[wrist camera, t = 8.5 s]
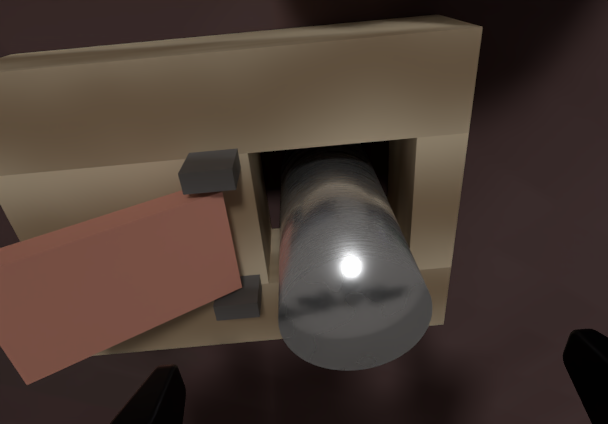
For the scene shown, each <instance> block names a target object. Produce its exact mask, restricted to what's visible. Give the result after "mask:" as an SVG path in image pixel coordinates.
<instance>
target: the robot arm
mask: <svg viewBox="0 0 608 424" xmlns="http://www.w3.org/2000/svg"><path fill="white" fill-rule="evenodd" d="M563 361H564V365H565V367H566V369H567V371H568V373H569V376H570V378H571V380H572V382H573V384H574V386H575V388H576V391H577V393H578V395H579V397H580V399H581V401H582V403H583V406H584V408H585V410H586V412H587V414H588V416H589V418H590V421H591V423H592V424H608V337H606V336H604V335H603V334H601V333H599V332H598V331H596V330H593V329H578V330H573V331H572V332H571V333H570V336H569V338H568V341H567V344H566V347H565V349H564V352H563ZM185 398H186V390H185V385H184V382H183V380H182V377H181V374H180V371H179V369H178V367H177V366H176V365H174V364H171V365H161V366H158V367H157V368H156V369H155V370H154V371H153V372H152V373H151V375H150V376H149V377H148V378H147V379H146V381H145V382H144V383H143V384H142V385H141V387H140V388H139V389H138V390H137V391H136V393H135V394H134V395H133V396H132V397H131V399H130V400H129V401H128V402H127V403H126V405H125V406H124V407H123V408H122V409H121V410H120V412H119V413H118V414H117V415H116V416H115V418H114V419H113V420H112V421H111V422H110V424H183V415H184V406H185Z"/></svg>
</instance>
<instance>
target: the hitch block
mask: <svg viewBox="0 0 608 424" xmlns="http://www.w3.org/2000/svg"><path fill="white" fill-rule="evenodd" d="M482 29H483V27H482V26H478V25H474V24H471V23H467V22H464V21H460V20H456V19H453V18H449V17H446V16H442V15H438V14H436V15H426V16H415V17H404V18H394V19H383V20H372V21H362V22H351V23H340V24H330V25H319V26H308V27H298V28H287V29H276V30H266V31H255V32H244V33H234V34H223V35H212V36H202V37H191V38H180V39H170V40H159V41H148V42H138V43H127V44H116V45H106V46H95V47H84V48H74V49H63V50H52V51H42V52H31V53H20V54H12V55H8V56H5V57H2V58H0V205H1V206H2V208H3V210H4V212H5V214H6V216H7V218H8V219H9V221H10V223H11V225H12V227H13V229H14V231H15V233H16V234H17V236H18V238H19V240H20V242H21V241H25V240H28V239H31V238H34V237H37V236H40V235H43V234H47V233H50V232H53V231H56V230H59V229H62V228H65V227H68V226H72V225H75V224H78V223H81V222H84V221H87V220H90V219H93V218H97V217H100V216H103V215H106V214H109V213H112V212H115V211H118V210H122V209H125V208H128V207H131V206H134V205H137V204H140V203H144V202H147V201H150V200H153V199H156V198H159V197H162V196H165V195H169V194H172V193H175V192H178V191H181V190H182V192H183V195H186V194H197V193H208V192H219V191H222V193H223V198H224V203H225V207H226V212H227V217H228V222H229V227H230V231H231V236H232V241H233V246H234V251H235V255H236V260H237V265H238V270H239V274H240V279H241V284H242V288H240V289H238V290H235V291H233V292H231V293H229V294H227V295H224V296H222V297H220V298H218V299H216V300H213V301H211V302H209V303H207V304H205V305H202V306H200V307H198V308H196V309H194V310H191V311H189V312H187V313H185V314H183V315H180V316H178V317H176V318H174V319H172V320H169V321H167V322H165V323H163V324H161V325H158V326H156V327H154V328H152V329H150V330H147V331H145V332H143V333H141V334H139V335H136V336H134V337H132V338H130V339H128V340H125V341H123V342H121V343H119V344H117V345H114V346H112V347H110V348H108V349H105V350H103V351H101V352H99V353H97V354H94V355H106V354H117V353H128V352H139V351H151V350H162V349H173V348H184V347H196V346H207V345H218V344H229V343H241V342H252V341H263V340H274V339H283V338H282V336H281V334H280V330H279V324H278V302H279V250H280V228H277V229H272V228H271V221H270V214H269V207H268V201H267V194H266V187H265V180H264V173H263V166H262V159H261V153H260V152H267V151H278V150H289V149H300V148H310V147H321V146H332V145H343V144H354V143H365V142H376V141H387V140H389V157H388V194H387V200H388V202H389V204H390V206H391V209H392V211H393V213H394V215H395V217H396V220H397V222H398V224H399V226H400V228H401V231H402V233H403V235H404V237H405V240H406V242H407V244H408V246H409V248H410V251H411V253H412V255H413V257H414V259H415V262H416V264H417V266H418V268H419V271H420V273H421V275H422V277H423V279H424V282H425V284H426V286H427V288H428V290H429V293H430V296H431V300H432V317H431V321H430V324H429V326H432V325H443V324H444V316H445V309H446V301H447V294H448V286H449V279H450V271H451V264H452V256H453V248H454V241H455V233H456V226H457V218H458V211H459V203H460V195H461V188H462V180H463V173H464V165H465V158H466V150H467V143H468V135H469V127H470V120H471V112H472V105H473V97H474V90H475V82H476V74H477V67H478V59H479V52H480V44H481V37H482ZM94 355H92V356H94Z"/></svg>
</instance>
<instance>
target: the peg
mask: <svg viewBox="0 0 608 424" xmlns="http://www.w3.org/2000/svg"><path fill="white" fill-rule="evenodd" d="M431 317H432V300H431V296H430V293H429V290H428V288H427V286H426V284H425V282H424V279H423V277H422V275H421V273H420V271H419V268H418V266H417V264H416V262H415V259H414V257H413V255H412V253H411V251H410V248H409V246H408V244H407V242H406V240H405V237H404V235H403V233H402V231H401V228H400V226H399V224H398V222H397V220H396V217H395V215H394V213H393V211H392V209H391V206H390V204H389V202H388V200H387V197H386V195H385V193H384V191H383V189H382V186H381V184H380V182H379V180H378V178H377V175H376V173H375V171H374V169H373V167H372V164H371V162H370V160H369V158H368V155H367V153H366V151H365V150H364V148H363V147H362V145H361V144H360V143H354V144H343V145H332V146H321V147H310V148H300V149H289V150H288V151H287V152H286V154H285V156H284V159H283V162H282V166H281V197H280V250H279V302H278V324H279V330H280V334H281V336H282V338H283V340H284V342H285V343H286V345H287V346H288V347H289V348H290V349H291V350H292V352H294V353H295V354H296V355H297V356H299V357H300V358H302V359H303V360H305V361H307V362H309V363H311V364H313V365H316V366H319V367H323V368H327V369H333V370H345V371H350V370H362V369H368V368H372V367H376V366H380V365H383V364H385V363H388V362H390V361H392V360H394V359H396V358H398V357H400V356H402V355H403V354H405V353H406V352H407V351H409V350H410V349H411V348H412V347H414V346H415V345H416V344H417V342H418V341H419V340H420V339H421V338H422V336H423V335H424V334H425V332H426V330H427V328H428V326H429V324H430V321H431Z"/></svg>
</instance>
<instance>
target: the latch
mask: <svg viewBox="0 0 608 424" xmlns="http://www.w3.org/2000/svg"><path fill="white" fill-rule="evenodd" d="M240 288H242V284H241V279H240V274H239V270H238V265H237V260H236V255H235V251H234V246H233V241H232V236H231V231H230V227H229V222H228V217H227V212H226V207H225V203H224V198H223V193H222V191H219V192H208V193H197V194H186V195H183V192H182V190H181V191H178V192H175V193H172V194H169V195H165V196H162V197H159V198H156V199H153V200H150V201H147V202H144V203H140V204H137V205H134V206H131V207H128V208H125V209H122V210H118V211H115V212H112V213H109V214H106V215H103V216H100V217H97V218H93V219H90V220H87V221H84V222H81V223H78V224H75V225H72V226H68V227H65V228H62V229H59V230H56V231H53V232H50V233H47V234H43V235H40V236H37V237H34V238H31V239H28V240H25V241H21V242H18V243H15V244H12V245H9V246H6V247H3V248H0V346H1V347H2V349H3V350H4V352H5V353H6V355H7V356H8V358H9V359H10V361H11V362H12V364H13V365H14V367H15V368H16V370H17V371H18V373H19V374H20V376H21V377H22V379H23V380H24V382H25V383H26V385H28V384H31V383H33V382H35V381H37V380H39V379H42V378H44V377H46V376H48V375H50V374H53V373H55V372H57V371H59V370H61V369H64V368H66V367H68V366H70V365H72V364H75V363H77V362H79V361H81V360H83V359H86V358H88V357H90V356H92V355H94V354H97V353H99V352H101V351H103V350H105V349H108V348H110V347H112V346H114V345H117V344H119V343H121V342H123V341H125V340H128V339H130V338H132V337H134V336H136V335H139V334H141V333H143V332H145V331H147V330H150V329H152V328H154V327H156V326H158V325H161V324H163V323H165V322H167V321H169V320H172V319H174V318H176V317H178V316H180V315H183V314H185V313H187V312H189V311H191V310H194V309H196V308H198V307H200V306H202V305H205V304H207V303H209V302H211V301H213V300H216V299H218V298H220V297H222V296H224V295H227V294H229V293H231V292H233V291H235V290H238V289H240Z"/></svg>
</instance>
